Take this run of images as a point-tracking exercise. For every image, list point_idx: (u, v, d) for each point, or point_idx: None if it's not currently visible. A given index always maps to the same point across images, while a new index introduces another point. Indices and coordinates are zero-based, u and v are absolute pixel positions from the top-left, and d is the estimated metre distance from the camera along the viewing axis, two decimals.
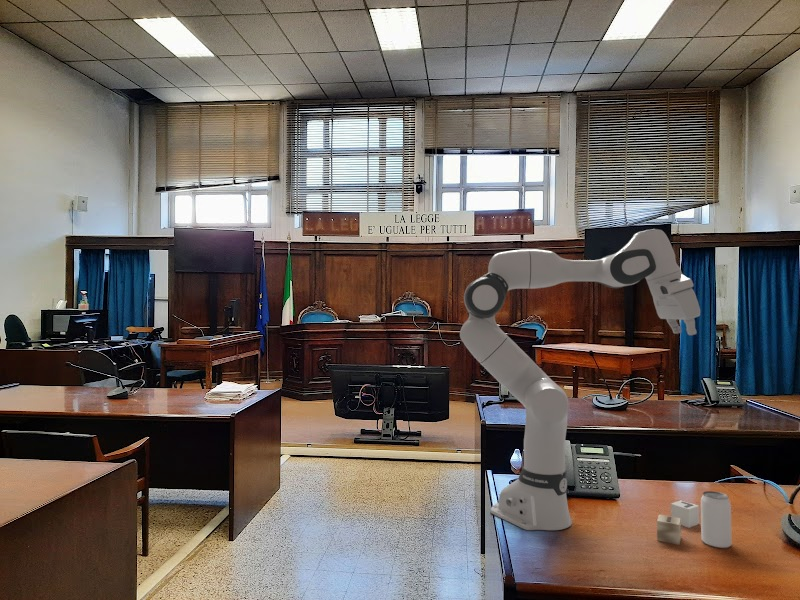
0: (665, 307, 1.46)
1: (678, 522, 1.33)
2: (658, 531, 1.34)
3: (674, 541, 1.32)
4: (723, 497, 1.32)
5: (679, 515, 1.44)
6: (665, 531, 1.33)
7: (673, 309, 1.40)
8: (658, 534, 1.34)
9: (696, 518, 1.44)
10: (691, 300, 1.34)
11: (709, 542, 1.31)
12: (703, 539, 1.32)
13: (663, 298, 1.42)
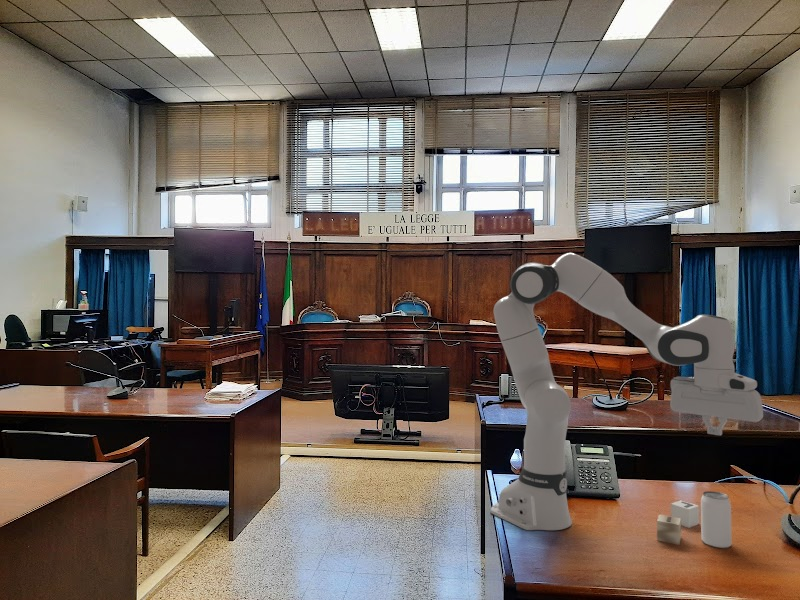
0: (703, 402, 1.33)
1: (678, 522, 1.33)
2: (658, 531, 1.34)
3: (674, 541, 1.32)
4: (723, 497, 1.32)
5: (679, 515, 1.44)
6: (665, 531, 1.33)
7: (727, 406, 1.29)
8: (658, 534, 1.34)
9: (696, 518, 1.44)
10: (760, 402, 1.27)
11: (709, 542, 1.31)
12: (703, 539, 1.32)
13: (718, 392, 1.30)
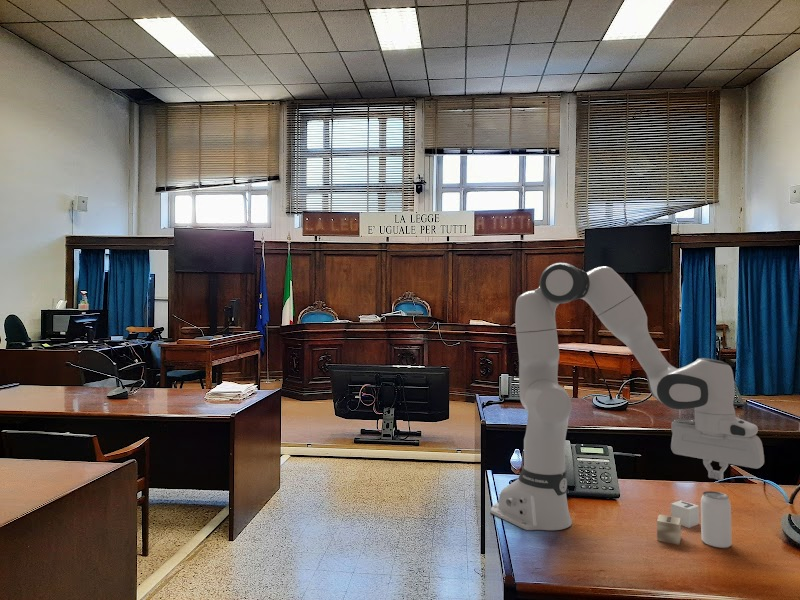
0: (704, 446, 1.33)
1: (678, 522, 1.33)
2: (658, 531, 1.34)
3: (674, 541, 1.32)
4: (723, 497, 1.32)
5: (679, 515, 1.44)
6: (665, 531, 1.33)
7: (728, 451, 1.29)
8: (658, 534, 1.34)
9: (696, 518, 1.44)
10: (761, 448, 1.26)
11: (709, 542, 1.31)
12: (703, 539, 1.32)
13: (718, 437, 1.30)
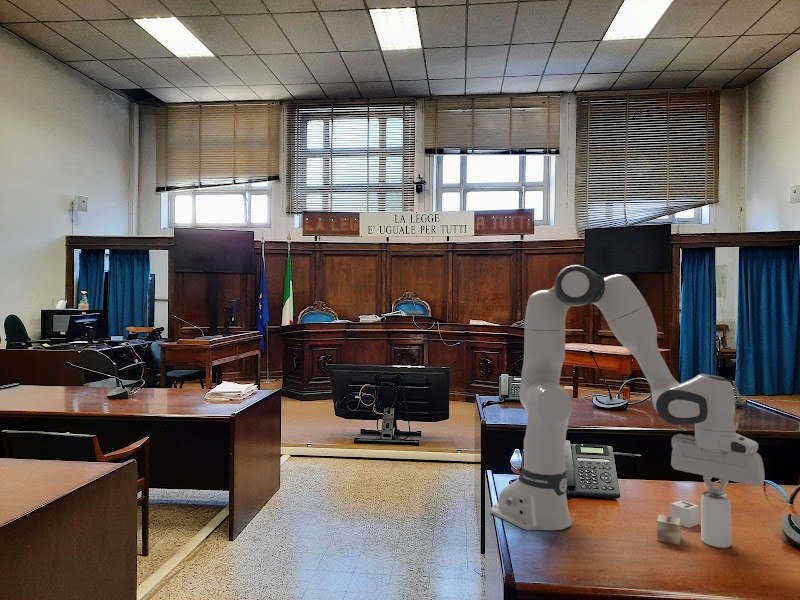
0: (704, 462, 1.33)
1: (678, 522, 1.33)
2: (658, 531, 1.34)
3: (674, 541, 1.32)
4: (723, 497, 1.32)
5: (679, 515, 1.44)
6: (665, 531, 1.33)
7: (729, 468, 1.29)
8: (658, 534, 1.34)
9: (696, 518, 1.44)
10: (761, 465, 1.26)
11: (709, 542, 1.31)
12: (703, 539, 1.32)
13: (719, 453, 1.30)
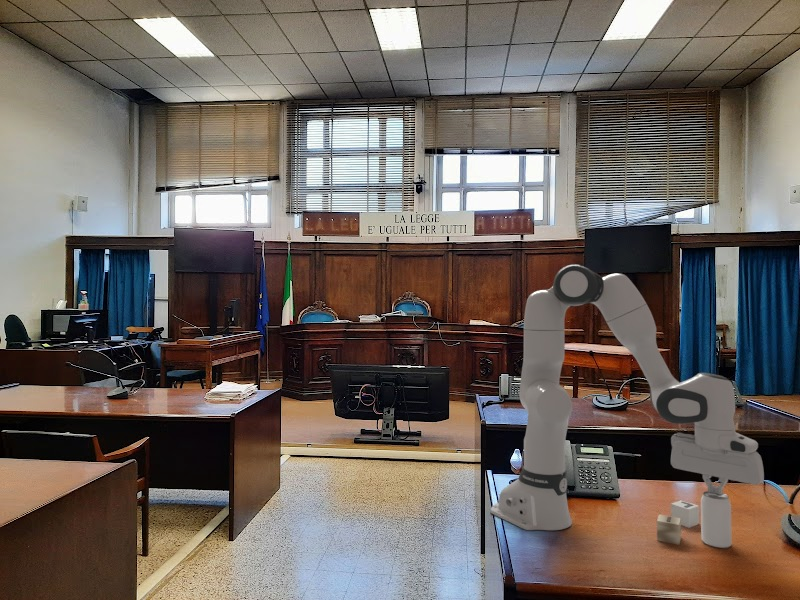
0: (703, 461, 1.33)
1: (678, 522, 1.33)
2: (658, 531, 1.34)
3: (674, 541, 1.32)
4: (723, 497, 1.32)
5: (679, 515, 1.44)
6: (665, 531, 1.33)
7: (728, 467, 1.29)
8: (658, 534, 1.34)
9: (696, 518, 1.44)
10: (761, 465, 1.26)
11: (709, 542, 1.31)
12: (703, 539, 1.32)
13: (718, 452, 1.30)
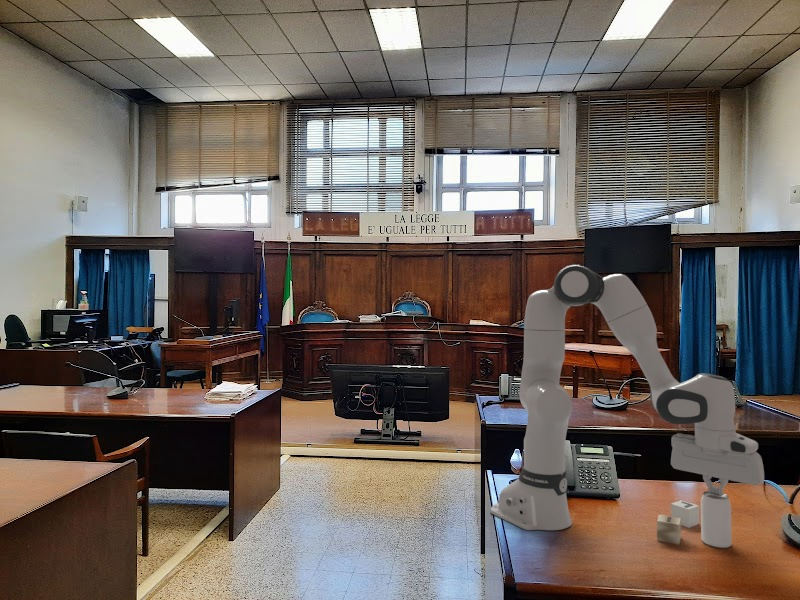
0: (704, 461, 1.33)
1: (678, 522, 1.33)
2: (658, 531, 1.34)
3: (674, 541, 1.32)
4: (723, 497, 1.32)
5: (679, 515, 1.44)
6: (665, 531, 1.33)
7: (728, 467, 1.29)
8: (658, 534, 1.34)
9: (696, 518, 1.44)
10: (761, 465, 1.26)
11: (709, 542, 1.31)
12: (703, 539, 1.32)
13: (718, 453, 1.30)
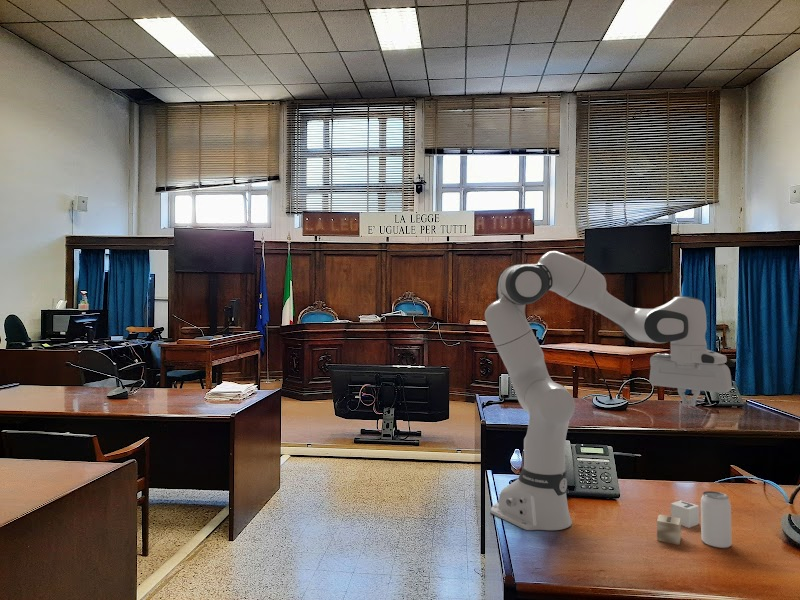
0: (678, 376, 1.46)
1: (678, 522, 1.33)
2: (658, 531, 1.34)
3: (674, 541, 1.32)
4: (723, 497, 1.32)
5: (679, 515, 1.44)
6: (665, 531, 1.33)
7: (700, 379, 1.42)
8: (658, 534, 1.34)
9: (696, 518, 1.44)
10: (729, 375, 1.39)
11: (709, 542, 1.31)
12: (703, 539, 1.32)
13: (691, 366, 1.43)
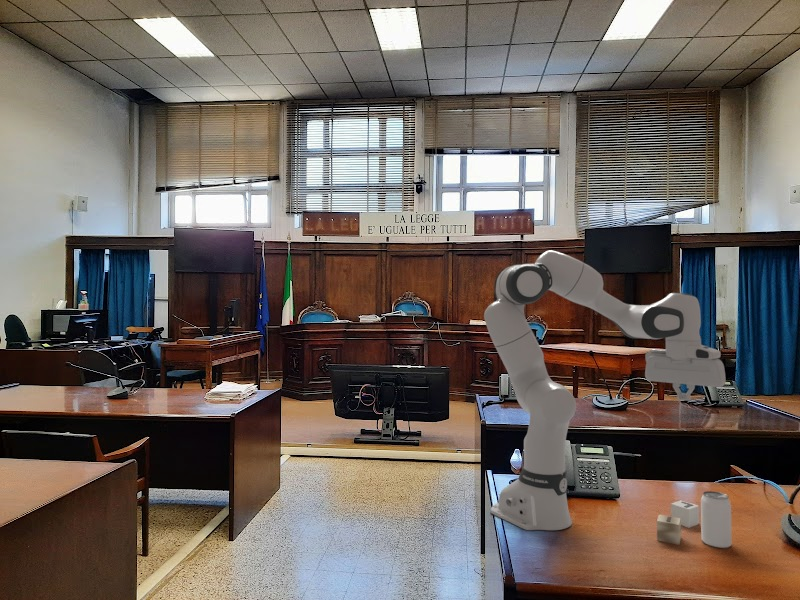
0: (673, 371, 1.49)
1: (678, 522, 1.33)
2: (658, 531, 1.34)
3: (674, 541, 1.32)
4: (723, 497, 1.32)
5: (679, 515, 1.44)
6: (665, 531, 1.33)
7: (694, 374, 1.45)
8: (658, 534, 1.34)
9: (696, 518, 1.44)
10: (723, 370, 1.42)
11: (709, 542, 1.31)
12: (703, 539, 1.32)
13: (686, 361, 1.46)
